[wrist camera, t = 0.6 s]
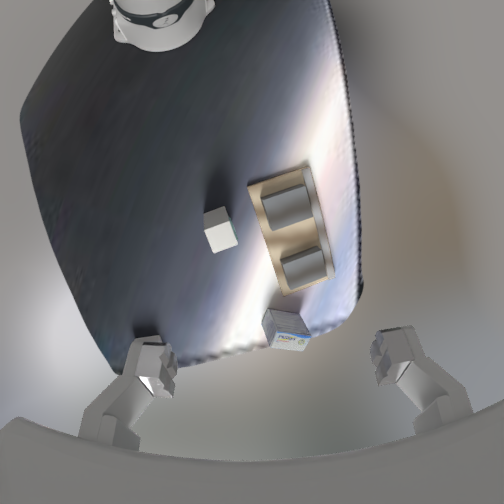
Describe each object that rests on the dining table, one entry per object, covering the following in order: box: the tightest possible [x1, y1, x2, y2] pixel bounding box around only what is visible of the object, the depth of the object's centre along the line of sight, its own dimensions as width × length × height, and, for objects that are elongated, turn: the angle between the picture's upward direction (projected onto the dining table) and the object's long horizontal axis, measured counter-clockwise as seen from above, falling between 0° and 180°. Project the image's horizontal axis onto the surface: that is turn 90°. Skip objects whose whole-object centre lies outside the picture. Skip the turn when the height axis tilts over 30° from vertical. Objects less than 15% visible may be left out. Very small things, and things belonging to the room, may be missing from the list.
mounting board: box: [247, 167, 335, 297], centre depth 55 cm, size 24×12×4 cm, turn 18°
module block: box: [204, 206, 238, 253], centre depth 49 cm, size 4×4×10 cm
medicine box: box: [262, 309, 311, 351], centre depth 60 cm, size 8×4×9 cm, turn 72°
